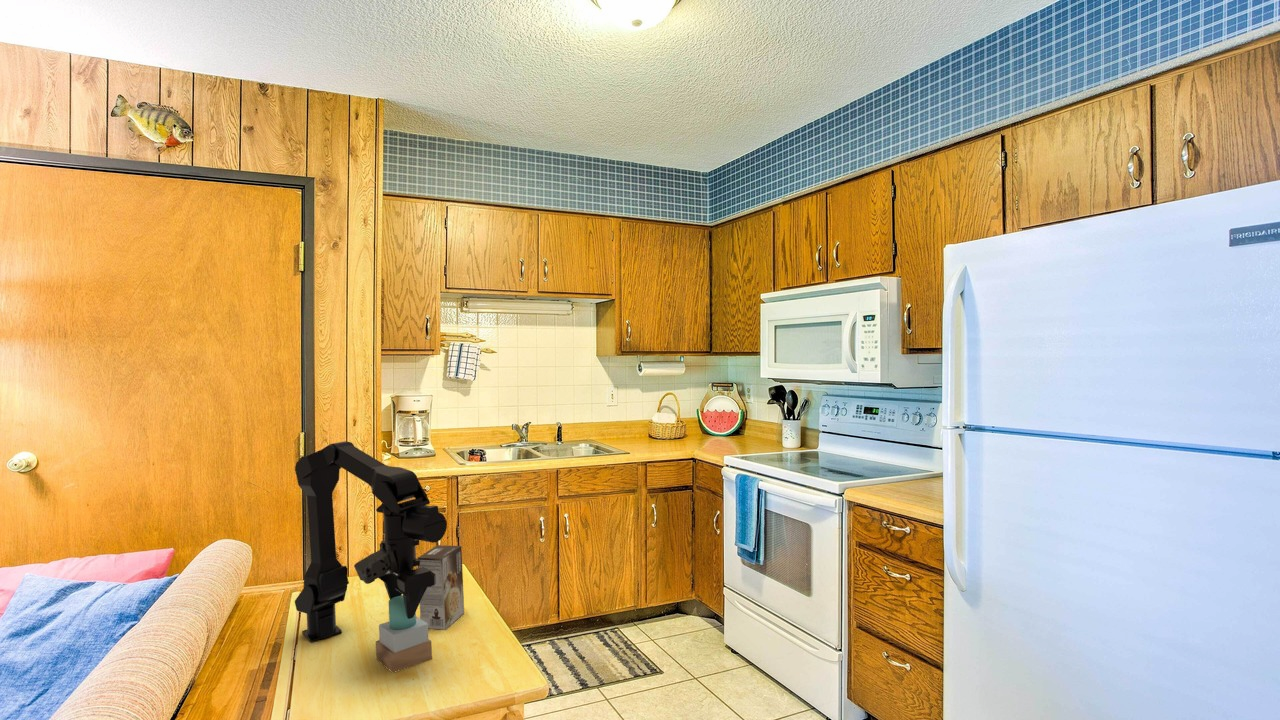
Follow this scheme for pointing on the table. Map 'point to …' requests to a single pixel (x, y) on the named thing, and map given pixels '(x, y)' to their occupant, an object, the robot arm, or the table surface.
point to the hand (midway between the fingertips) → (402, 612)
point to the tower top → (403, 636)
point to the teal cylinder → (399, 614)
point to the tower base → (403, 656)
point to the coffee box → (443, 587)
